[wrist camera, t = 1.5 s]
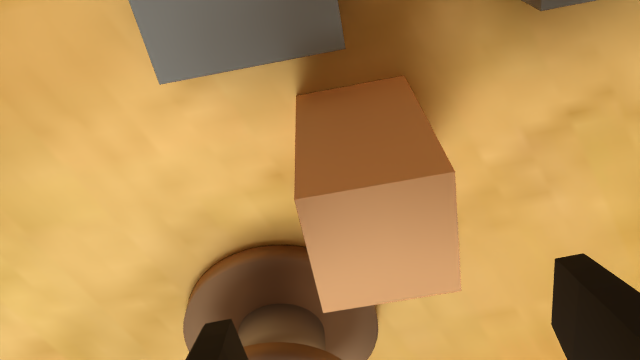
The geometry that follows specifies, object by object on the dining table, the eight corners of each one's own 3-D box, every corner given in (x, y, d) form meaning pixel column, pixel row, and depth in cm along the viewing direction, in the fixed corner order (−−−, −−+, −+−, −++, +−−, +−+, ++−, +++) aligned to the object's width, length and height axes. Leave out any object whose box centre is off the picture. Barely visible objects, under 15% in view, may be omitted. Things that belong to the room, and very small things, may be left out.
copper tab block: (404, 75, 18) (455, 171, 12) (413, 169, 20) (461, 291, 14) (296, 95, 19) (294, 200, 13) (316, 186, 21) (323, 313, 15)
